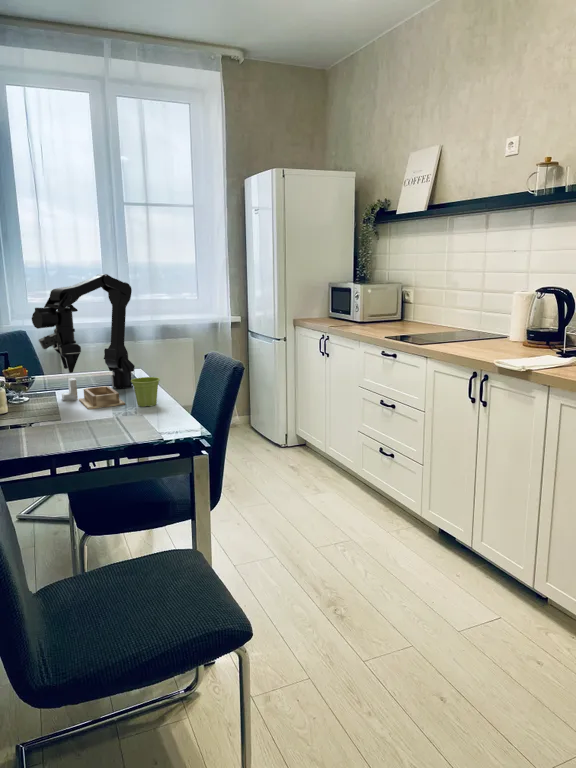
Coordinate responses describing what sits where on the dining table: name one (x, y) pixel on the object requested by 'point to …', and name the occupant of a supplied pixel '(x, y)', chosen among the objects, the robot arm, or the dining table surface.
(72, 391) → the bracket
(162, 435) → the dining table surface
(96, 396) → the light wood shallow box
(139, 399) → the plant pot
